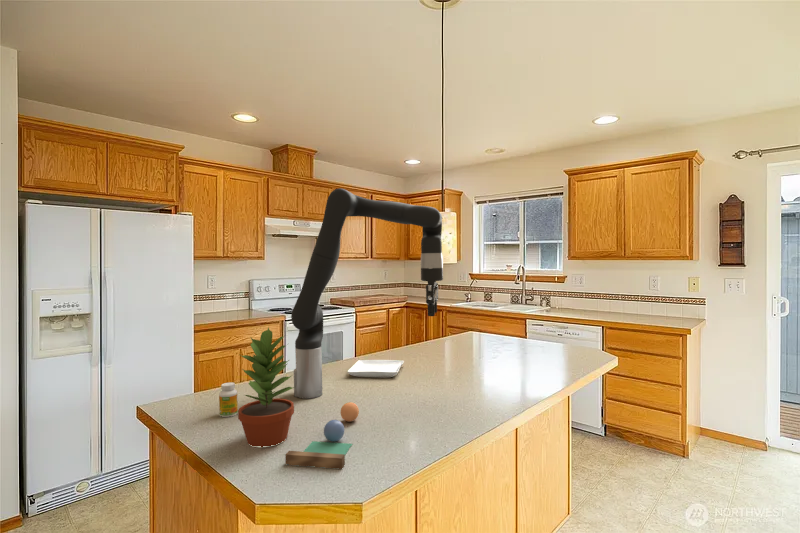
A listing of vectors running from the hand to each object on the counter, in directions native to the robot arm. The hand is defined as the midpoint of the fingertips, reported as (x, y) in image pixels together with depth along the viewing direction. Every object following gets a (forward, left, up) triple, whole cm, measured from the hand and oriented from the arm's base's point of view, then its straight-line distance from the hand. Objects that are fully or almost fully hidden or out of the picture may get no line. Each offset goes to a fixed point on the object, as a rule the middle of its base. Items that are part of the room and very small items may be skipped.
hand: (432, 314), depth 145 cm
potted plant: (-41, -38, -30) cm, 63 cm away
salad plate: (-28, +33, -30) cm, 53 cm away
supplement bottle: (-63, -22, -30) cm, 73 cm away
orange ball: (-23, -22, -26) cm, 41 cm away
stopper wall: (-23, -50, -29) cm, 62 cm away
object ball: (-23, -36, -26) cm, 50 cm away
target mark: (-23, -43, -29) cm, 57 cm away
